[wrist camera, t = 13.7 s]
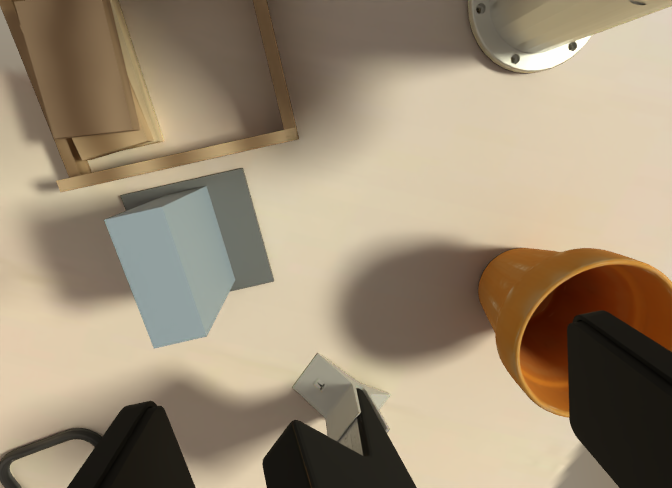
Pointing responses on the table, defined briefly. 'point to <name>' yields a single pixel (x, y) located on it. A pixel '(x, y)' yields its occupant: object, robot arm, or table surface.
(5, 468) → the chair
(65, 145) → the wooden frame
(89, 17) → the offcut stack
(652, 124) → the table surface
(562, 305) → the flower pot
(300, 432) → the award
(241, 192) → the mat
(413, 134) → the table surface
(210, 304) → the rectangular block
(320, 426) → the table surface
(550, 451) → the table surface
